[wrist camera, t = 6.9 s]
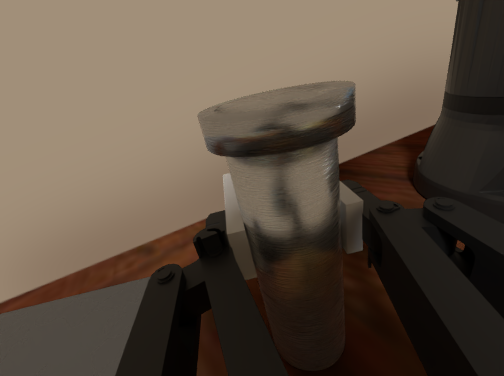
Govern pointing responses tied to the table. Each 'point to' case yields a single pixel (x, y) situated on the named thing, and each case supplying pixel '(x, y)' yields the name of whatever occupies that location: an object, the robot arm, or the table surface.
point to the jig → (71, 333)
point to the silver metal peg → (291, 207)
